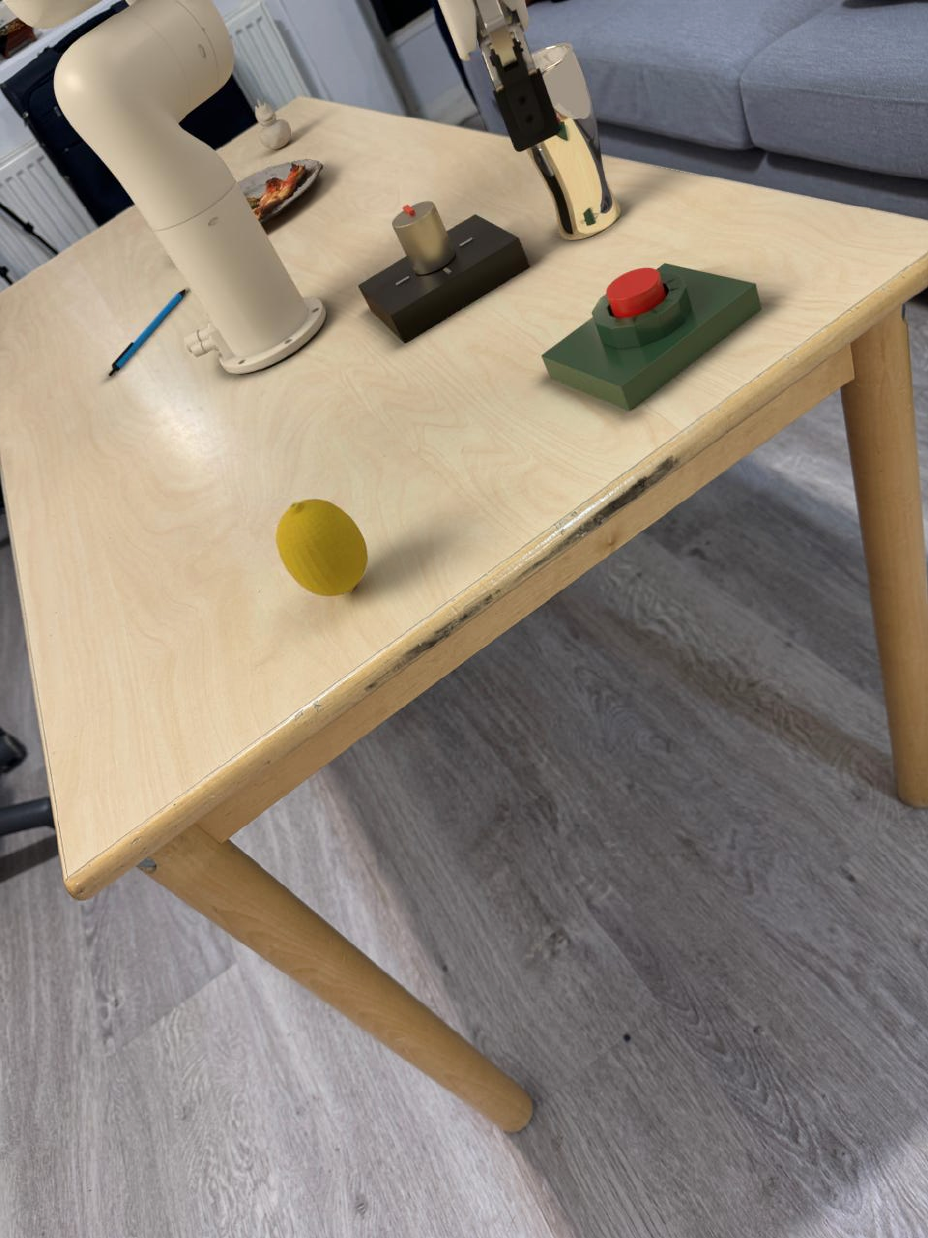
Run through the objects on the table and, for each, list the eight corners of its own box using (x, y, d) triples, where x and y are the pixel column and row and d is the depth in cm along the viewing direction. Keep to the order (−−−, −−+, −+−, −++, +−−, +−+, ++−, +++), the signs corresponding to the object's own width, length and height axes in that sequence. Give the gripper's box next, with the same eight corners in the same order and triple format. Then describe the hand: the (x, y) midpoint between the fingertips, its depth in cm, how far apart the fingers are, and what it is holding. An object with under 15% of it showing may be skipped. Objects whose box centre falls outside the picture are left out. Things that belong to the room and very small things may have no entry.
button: (636, 324, 70) (629, 303, 69) (602, 314, 73) (595, 293, 72) (677, 293, 71) (671, 271, 70) (641, 284, 74) (635, 263, 73)
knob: (461, 255, 93) (439, 203, 90) (422, 279, 93) (397, 228, 90) (447, 244, 96) (424, 193, 93) (408, 267, 96) (384, 217, 93)
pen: (109, 378, 119) (103, 370, 118) (185, 292, 130) (180, 285, 130) (114, 377, 119) (109, 369, 118) (189, 291, 130) (185, 283, 129)
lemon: (316, 579, 71) (258, 496, 66) (385, 551, 70) (332, 465, 65) (314, 630, 67) (252, 546, 62) (387, 601, 66) (330, 514, 61)
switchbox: (630, 412, 70) (613, 365, 67) (550, 378, 77) (532, 335, 75) (762, 309, 72) (750, 260, 69) (671, 286, 79) (658, 241, 77)
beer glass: (622, 228, 90) (570, 60, 81) (551, 251, 93) (492, 91, 83) (628, 195, 95) (579, 32, 85) (560, 217, 98) (505, 62, 88)
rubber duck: (271, 156, 161) (245, 108, 156) (263, 151, 166) (237, 103, 161) (299, 139, 161) (274, 90, 156) (290, 134, 166) (265, 86, 161)
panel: (404, 343, 92) (389, 314, 90) (371, 310, 101) (356, 283, 99) (530, 266, 93) (518, 235, 91) (486, 240, 101) (474, 211, 99)
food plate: (355, 161, 139) (344, 137, 137) (259, 253, 128) (245, 228, 126) (243, 187, 155) (231, 165, 153) (148, 270, 144) (134, 248, 142)
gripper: (370, -147, 65) (473, 111, 75) (364, -122, 52) (490, 185, 62) (474, -207, 63) (565, 65, 74) (495, -197, 50) (601, 132, 61)
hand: (530, 120), depth 68 cm, fingers open, 9 cm apart
